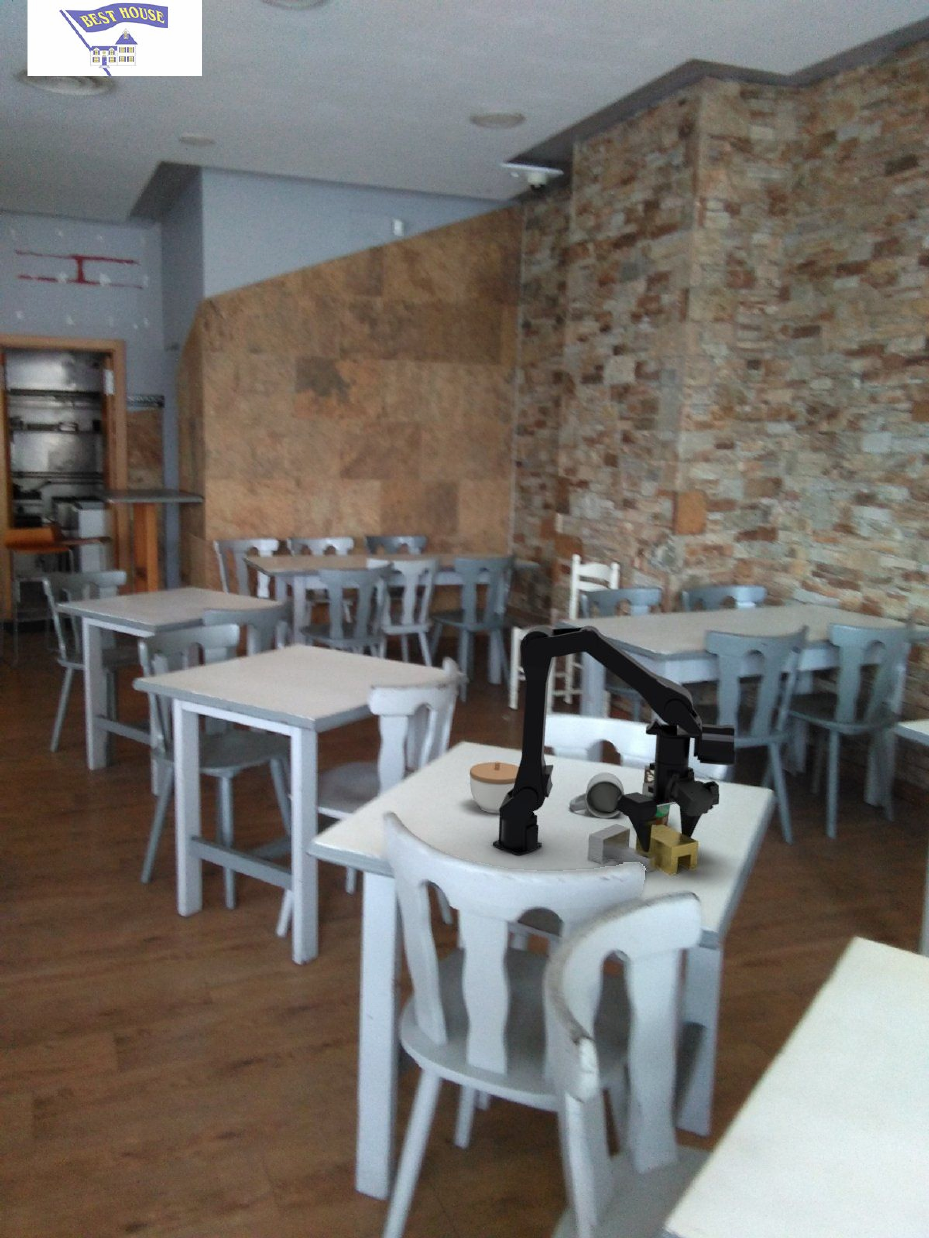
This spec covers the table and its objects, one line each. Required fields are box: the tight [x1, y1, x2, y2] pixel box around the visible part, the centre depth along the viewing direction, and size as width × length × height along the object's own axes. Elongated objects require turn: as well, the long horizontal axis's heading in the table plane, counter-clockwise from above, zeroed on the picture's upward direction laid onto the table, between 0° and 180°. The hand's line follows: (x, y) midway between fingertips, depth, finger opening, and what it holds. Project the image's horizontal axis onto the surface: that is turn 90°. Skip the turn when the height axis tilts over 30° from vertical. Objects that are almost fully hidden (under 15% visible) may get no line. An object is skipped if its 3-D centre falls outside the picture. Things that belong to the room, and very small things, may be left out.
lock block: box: [635, 824, 699, 876], centre depth 182 cm, size 9×6×5 cm, turn 31°
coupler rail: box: [587, 823, 656, 873], centre depth 182 cm, size 10×8×4 cm
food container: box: [641, 764, 671, 827], centre depth 199 cm, size 12×6×10 cm, turn 168°
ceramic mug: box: [568, 772, 625, 819], centre depth 206 cm, size 11×8×8 cm
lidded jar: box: [469, 761, 519, 814], centre depth 206 cm, size 11×11×9 cm
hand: (666, 846), depth 182 cm, fingers open, 9 cm apart
